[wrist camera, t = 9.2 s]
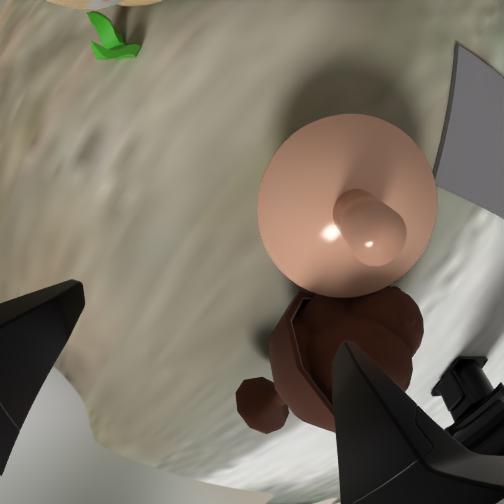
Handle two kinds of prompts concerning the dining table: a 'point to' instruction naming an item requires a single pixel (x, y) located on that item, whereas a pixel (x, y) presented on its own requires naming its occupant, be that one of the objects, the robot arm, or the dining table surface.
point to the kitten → (107, 27)
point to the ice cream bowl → (329, 354)
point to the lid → (347, 205)
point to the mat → (473, 134)
